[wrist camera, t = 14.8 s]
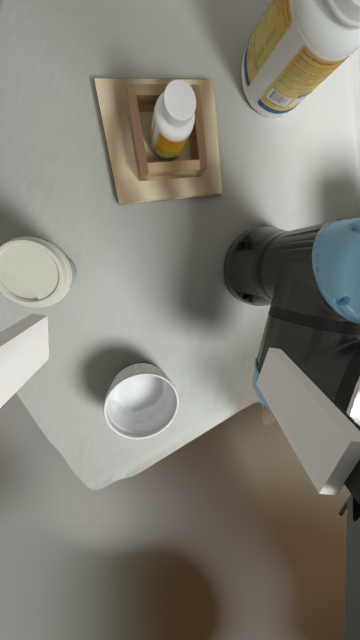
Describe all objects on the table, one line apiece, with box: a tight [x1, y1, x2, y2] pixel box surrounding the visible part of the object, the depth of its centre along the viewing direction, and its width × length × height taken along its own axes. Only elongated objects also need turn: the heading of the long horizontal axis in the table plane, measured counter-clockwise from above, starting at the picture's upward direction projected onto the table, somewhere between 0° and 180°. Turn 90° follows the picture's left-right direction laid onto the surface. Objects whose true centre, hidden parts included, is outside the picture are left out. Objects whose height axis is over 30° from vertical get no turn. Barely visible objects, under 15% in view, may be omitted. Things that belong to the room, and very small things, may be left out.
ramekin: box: [104, 363, 179, 439], centre depth 42 cm, size 13×13×7 cm
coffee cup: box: [0, 236, 76, 307], centre depth 31 cm, size 9×8×12 cm
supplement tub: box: [241, 0, 360, 117], centre depth 30 cm, size 12×12×17 cm
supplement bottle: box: [149, 80, 196, 161], centre depth 31 cm, size 5×5×10 cm
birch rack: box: [94, 78, 223, 205], centre depth 34 cm, size 18×16×5 cm
